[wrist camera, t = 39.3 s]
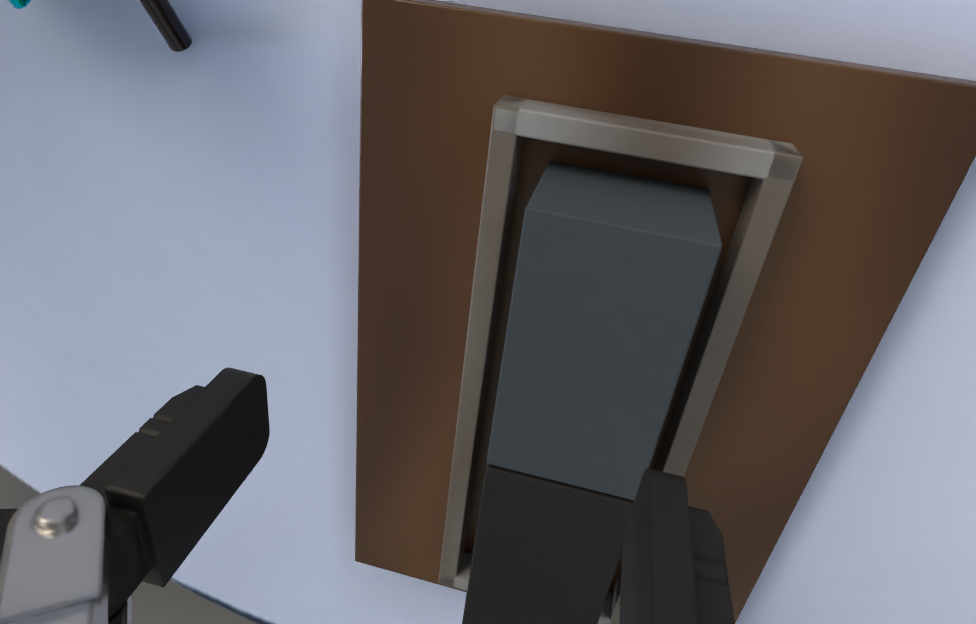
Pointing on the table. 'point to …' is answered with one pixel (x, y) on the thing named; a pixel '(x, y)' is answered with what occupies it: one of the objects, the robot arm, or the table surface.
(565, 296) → the pad
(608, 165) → the mount board
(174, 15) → the stick construction toy
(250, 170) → the table surface
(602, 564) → the pad
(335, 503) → the table surface
